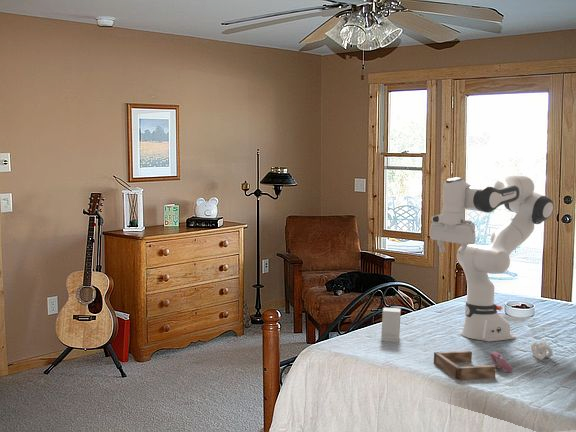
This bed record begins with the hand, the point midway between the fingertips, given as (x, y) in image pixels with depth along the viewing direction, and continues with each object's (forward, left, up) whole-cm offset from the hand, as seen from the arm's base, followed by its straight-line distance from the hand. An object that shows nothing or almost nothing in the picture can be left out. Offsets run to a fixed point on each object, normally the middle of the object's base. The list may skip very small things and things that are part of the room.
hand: (451, 253), depth 277 cm
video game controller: (-7, +28, -38) cm, 48 cm away
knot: (-30, +18, -38) cm, 52 cm away
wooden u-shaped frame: (+6, +28, -38) cm, 48 cm away
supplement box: (+19, -14, -38) cm, 45 cm away
